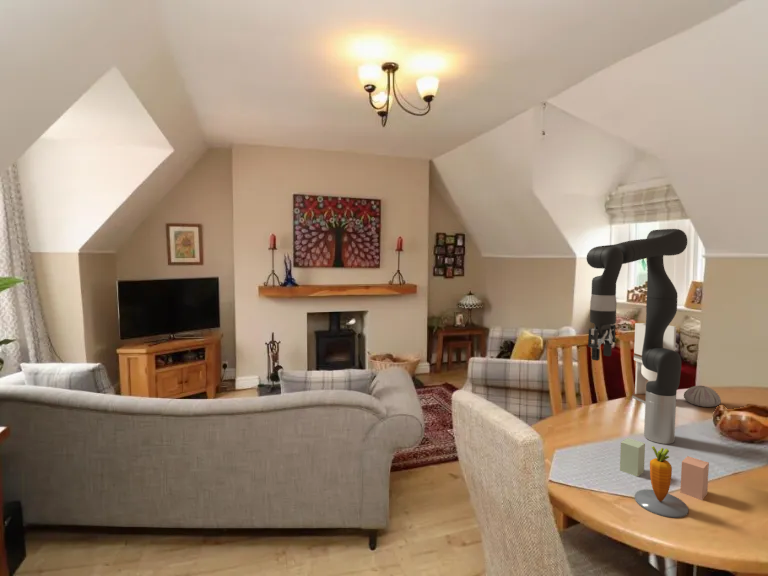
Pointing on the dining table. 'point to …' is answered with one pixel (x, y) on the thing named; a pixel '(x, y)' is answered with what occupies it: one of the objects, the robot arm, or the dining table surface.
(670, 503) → the slate coaster
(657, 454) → the carrot
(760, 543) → the dining table surface
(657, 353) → the robot arm
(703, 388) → the sea urchin shell
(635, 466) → the sage block
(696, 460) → the terracotta block
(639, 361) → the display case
